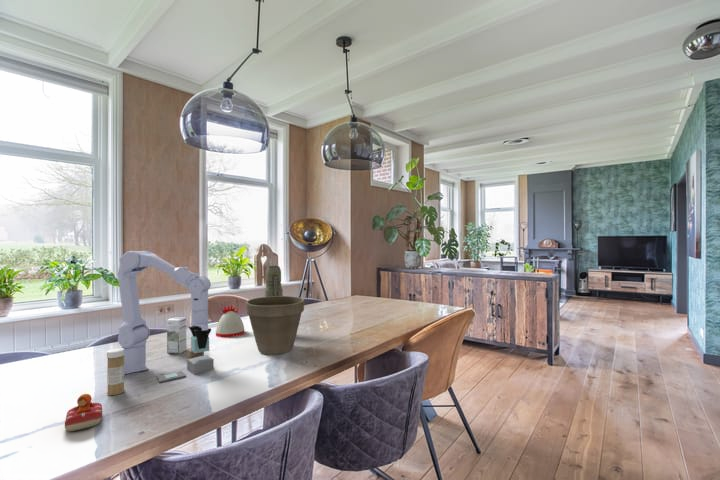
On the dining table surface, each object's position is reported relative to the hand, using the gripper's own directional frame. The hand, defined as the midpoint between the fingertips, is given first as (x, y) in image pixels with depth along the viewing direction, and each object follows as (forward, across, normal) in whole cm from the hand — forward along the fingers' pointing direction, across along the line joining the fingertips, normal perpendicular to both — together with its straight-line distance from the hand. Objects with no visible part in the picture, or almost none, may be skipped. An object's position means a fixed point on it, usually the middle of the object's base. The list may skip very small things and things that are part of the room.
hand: (200, 346), depth 130 cm
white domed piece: (+9, +46, -26) cm, 54 cm away
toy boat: (+9, -23, +34) cm, 42 cm away
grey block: (+9, 0, 0) cm, 9 cm away
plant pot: (+9, +4, -32) cm, 33 cm away
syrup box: (+9, +30, +2) cm, 31 cm away
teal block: (+1, 0, 0) cm, 1 cm away
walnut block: (+8, +11, -1) cm, 14 cm away
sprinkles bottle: (+9, -5, +26) cm, 28 cm away
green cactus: (+9, +28, -42) cm, 51 cm away
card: (+8, -2, +10) cm, 13 cm away
